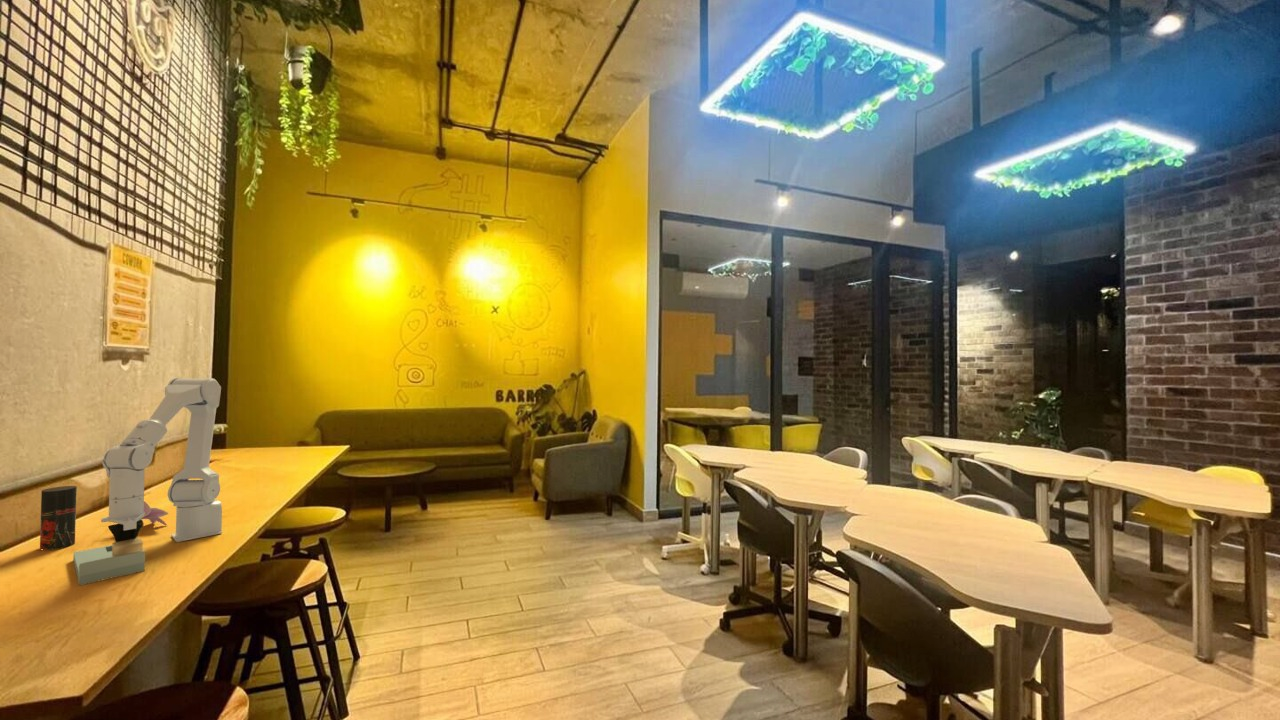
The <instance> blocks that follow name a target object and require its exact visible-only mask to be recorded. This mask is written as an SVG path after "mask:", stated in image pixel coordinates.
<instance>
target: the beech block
mask: <svg viewBox="0 0 1280 720" xmlns="http://www.w3.org/2000/svg"><path fill="white" fill-rule="evenodd" d="M111 545H112V557H115V556H120V555H125V554H129V553H134V552H139V551H143V545H144V542H143V540H142V539H141V537H137V538H136V539H130V540H125V541H120V542H112V543H111Z"/></svg>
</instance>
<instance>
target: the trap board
mask: <svg viewBox="0 0 1280 720" xmlns="http://www.w3.org/2000/svg"><path fill="white" fill-rule="evenodd" d="M73 563H74V570H75V573H76V576H77V577H76V578H77V582H78V585H79V586H83V585H88V584H92V583H95V582H94V581H97V582H99V581H98V580H101V581H103V580H102V579H106V580H108V579H107V578H110V579H112V578H111V577H115V578H117V577H116V576H119V577H123V576H122V575H124V576H127V574H128V575H132V574H136V572H137V573H140V571H141V572H144V571H145V567H146V550H142V551H139V552H134V553H129V554H125V555H120V556H115V557H112V544H111V545H105V546H99V547H94V548H89V549H85V550H79V551H74V552H73ZM91 582H92V583H91ZM87 583H88V584H87Z"/></svg>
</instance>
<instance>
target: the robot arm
mask: <svg viewBox="0 0 1280 720" xmlns="http://www.w3.org/2000/svg"><path fill="white" fill-rule="evenodd" d="M221 390H222V386H221V385H220V384H219V382H218V381H217V380H216V379H215V378H214V377H213V378H212V377H209V378H182V377H174V378H172V379H171V380H170V381H169V382H168V384H167V385H166V386H165V387H164V394H165V396H164V398H163V399H162V400H161V402H160V403H159V404H158V406H157V407H156V409H155V411H153V413H152V415H151V416H150V418H149V419H144V420H141V421H139V422H138V423H137V424H136V425H135V427H134V428H133V429H132V430H131V432H130V433H128V435H127V436H126V437H125V438H124V440H123V441H122V442H121V443H120V444H119V445H115V446H113V447H111V448H109V449H108V450H107V451H106V453H105V455H103V459H102V460H101V463H102V466H103V468H104V469H105V471H106V476H107V478H108V479H109V492H108V493H109V494H108V516H105V517H101V518H100V522H101V523H107V522H108V523H113V524H110V525H108V526H107V527H108V529H109V531H110V532H111V534H112V535H113V538H114V541H115V542H120V541H125V540H130V539H136V538H138V535H139V533H140V531H141V530H142V528H143V527H144V524H145V523H144V521H143V519H141V518H142V517H143V516H144V515H145V512H144V501H145V471H146V468H148V466H149V465H151V463H152V462H153V461H152V460H153V458H154V456H153V455H154V453H155V451H156V449H155V448H156V446H157V445H158V444H159V443H160V441H161V440H162V439H163V438H164V437H165V435H166V434H167V432H168V429H167V424H169V422H170V421H171V420H173V419H174V417H175V416H176V415H177V414H179V412H180V411H181V410H182V409H183V408H185V409H187V410H188V411H189V412H190V419H189V426H188V434H187V435H188V436H187V441H186V448H185V449H186V450H185V458H184V465H183V469H182V470H180V471H179V472H177V473H176V474H175V475H173V476H172V480H171V484H170V486H169V487H168V489H167V498H168V500H169V502H171V503H172V506H173V507H175V509H176V513H175V514H176V515H175V523H176V524H175V533H171V537H172V539H174V541H175V542H176V543H181V542H185V541H189V540H190V541H191V540H196V539H200V538H201V539H202V538H205V537H211V536H215V535H221V534H222V533H223V531H222V523H223V521H222V520H223V519H222V518H223V510H222V509H223V507H222V502H221V501H220V500H216V499H217V498H218V497H219V495H220V491H221V484H220V475H219V474H218V472H215V471H214V470H213V469H211V468H210V462H211V461H210V460H211V452H212V445H213V437H214V429H215V421H216V413H217V408H218V407H219V406H220V401H221V400H220V399H221ZM115 542H114V543H115Z"/></svg>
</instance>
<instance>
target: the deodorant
mask: <svg viewBox="0 0 1280 720" xmlns="http://www.w3.org/2000/svg"><path fill="white" fill-rule="evenodd" d="M40 497H41V499H40V500H41V501H40V503H41V505H40V527H39V529H40V530H39V531H40V532H39V533H40V534H39V536H40V539H39V550H40V549H43V550H45V551H55V550H60V549H65V548H69V547H71V546H73V545H75V544H76V524H77V523H76V521H77V520H76V519H77V518H76V517H77V485H63V486H56V487H50V488H45V489H42V490H41V496H40ZM43 550H42V551H43Z"/></svg>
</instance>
